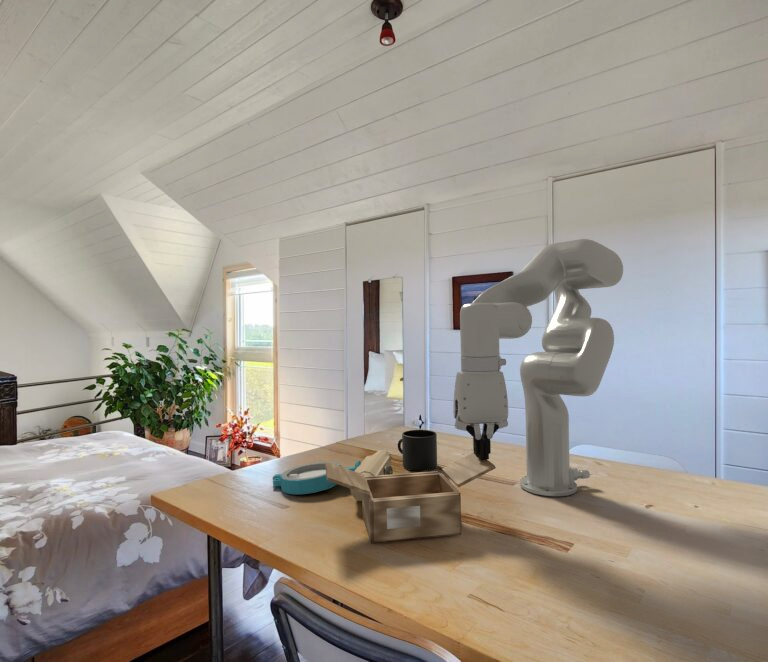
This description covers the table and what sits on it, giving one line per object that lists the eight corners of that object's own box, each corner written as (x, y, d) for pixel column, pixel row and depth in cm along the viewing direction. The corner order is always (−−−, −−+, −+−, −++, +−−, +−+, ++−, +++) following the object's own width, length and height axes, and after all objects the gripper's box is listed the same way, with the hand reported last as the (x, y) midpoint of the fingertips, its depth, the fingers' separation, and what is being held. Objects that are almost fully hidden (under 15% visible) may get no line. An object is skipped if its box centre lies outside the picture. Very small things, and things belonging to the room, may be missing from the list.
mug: (407, 458, 135) (406, 427, 135) (443, 464, 127) (442, 432, 127) (388, 466, 127) (387, 433, 127) (425, 473, 120) (424, 439, 120)
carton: (441, 507, 97) (440, 470, 97) (463, 536, 83) (462, 494, 83) (362, 514, 95) (361, 476, 95) (371, 546, 81) (370, 502, 81)
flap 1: (363, 474, 93) (326, 461, 91) (370, 491, 83) (328, 477, 82) (362, 477, 93) (325, 464, 91) (368, 494, 83) (327, 480, 82)
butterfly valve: (250, 517, 101) (383, 509, 95) (246, 486, 101) (378, 476, 95) (297, 478, 127) (403, 470, 122) (294, 453, 128) (400, 444, 122)
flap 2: (457, 484, 85) (494, 465, 87) (441, 468, 95) (475, 451, 96) (458, 487, 85) (496, 468, 87) (443, 471, 95) (476, 453, 96)
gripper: (507, 362, 96) (509, 450, 96) (438, 365, 94) (440, 455, 94) (524, 365, 89) (526, 460, 89) (449, 368, 86) (451, 466, 87)
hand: (482, 457), depth 91 cm, fingers closed
